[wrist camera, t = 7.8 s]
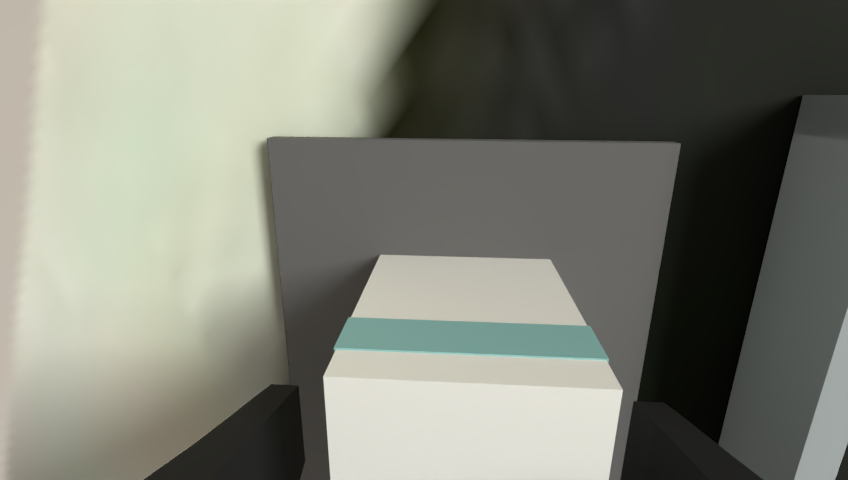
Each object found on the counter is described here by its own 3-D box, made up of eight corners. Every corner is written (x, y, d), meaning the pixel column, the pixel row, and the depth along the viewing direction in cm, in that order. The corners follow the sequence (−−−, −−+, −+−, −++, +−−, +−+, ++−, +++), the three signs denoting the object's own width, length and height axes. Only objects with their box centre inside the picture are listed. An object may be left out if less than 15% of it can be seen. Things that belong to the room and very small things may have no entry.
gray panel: (605, 549, 14) (609, 562, 14) (309, 530, 14) (305, 542, 14) (672, 141, 10) (681, 143, 10) (273, 136, 11) (267, 138, 10)
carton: (551, 258, 11) (625, 387, 6) (531, 467, 13) (576, 691, 8) (379, 253, 11) (321, 374, 6) (384, 459, 13) (342, 671, 8)
